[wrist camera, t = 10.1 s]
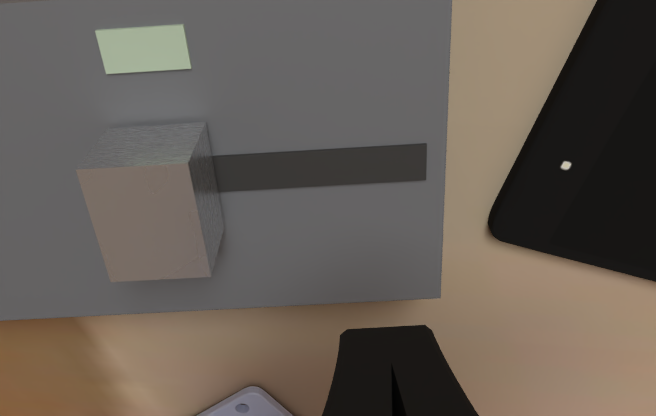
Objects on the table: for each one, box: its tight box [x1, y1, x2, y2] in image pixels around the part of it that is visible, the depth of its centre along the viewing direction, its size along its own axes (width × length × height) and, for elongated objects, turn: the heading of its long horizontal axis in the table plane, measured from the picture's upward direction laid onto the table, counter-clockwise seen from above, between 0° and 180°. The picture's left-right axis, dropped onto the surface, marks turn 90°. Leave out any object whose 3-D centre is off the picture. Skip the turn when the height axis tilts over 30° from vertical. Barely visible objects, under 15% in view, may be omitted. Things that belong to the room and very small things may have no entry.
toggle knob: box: [76, 122, 224, 282], centre depth 15 cm, size 2×3×2 cm
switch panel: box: [0, 0, 452, 321], centre depth 17 cm, size 24×9×3 cm, turn 94°
